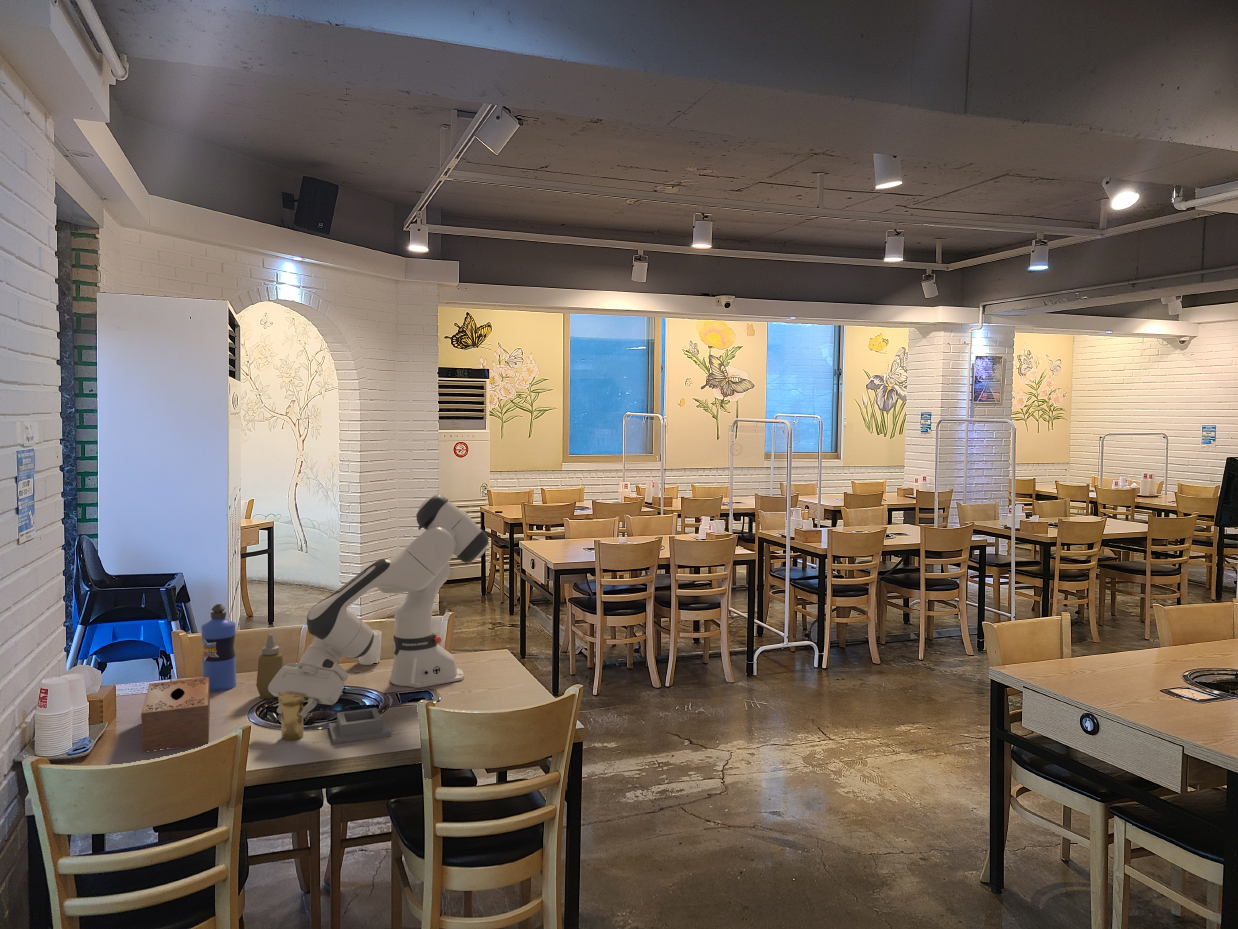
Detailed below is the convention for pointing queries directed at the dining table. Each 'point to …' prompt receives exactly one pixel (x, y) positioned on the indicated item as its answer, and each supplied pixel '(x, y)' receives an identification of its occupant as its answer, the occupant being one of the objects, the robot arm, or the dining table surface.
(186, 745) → the tissue box cover
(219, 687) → the water bottle
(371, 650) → the white cup
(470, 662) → the dining table surface
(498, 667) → the dining table surface
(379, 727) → the socket block
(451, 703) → the dining table surface
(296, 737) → the gold stepped cylinder
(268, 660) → the squeeze bottle
